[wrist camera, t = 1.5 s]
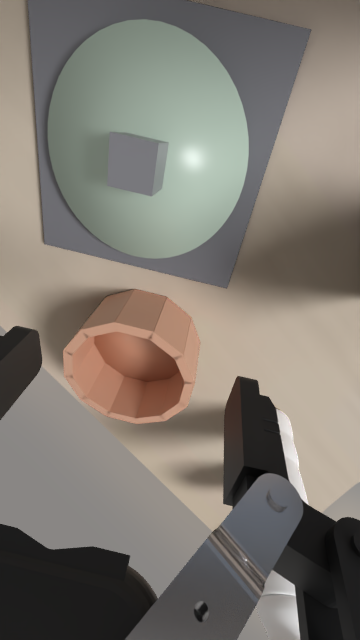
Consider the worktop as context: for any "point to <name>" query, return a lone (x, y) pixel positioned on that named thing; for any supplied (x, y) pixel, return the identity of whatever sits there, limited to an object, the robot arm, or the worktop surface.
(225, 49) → the mat
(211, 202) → the lid
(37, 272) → the worktop surface
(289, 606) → the water bottle
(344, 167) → the worktop surface
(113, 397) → the bowl
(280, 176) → the worktop surface
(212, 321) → the worktop surface
